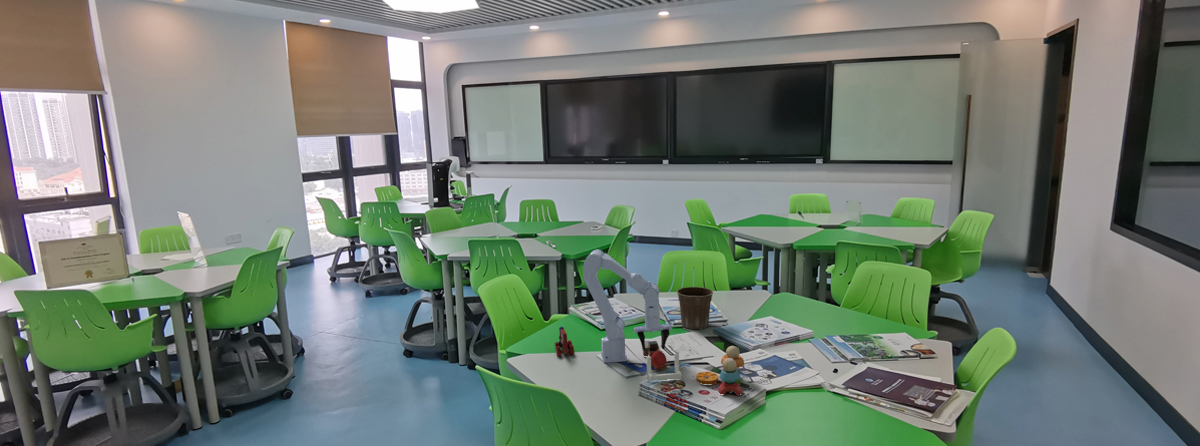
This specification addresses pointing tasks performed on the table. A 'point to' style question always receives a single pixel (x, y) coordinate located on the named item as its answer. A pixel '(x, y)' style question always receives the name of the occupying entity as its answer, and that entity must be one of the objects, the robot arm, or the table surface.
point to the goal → (663, 376)
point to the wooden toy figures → (726, 372)
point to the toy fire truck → (563, 344)
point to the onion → (658, 359)
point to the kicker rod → (651, 347)
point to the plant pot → (695, 306)
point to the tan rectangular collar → (647, 351)
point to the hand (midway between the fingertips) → (653, 349)
